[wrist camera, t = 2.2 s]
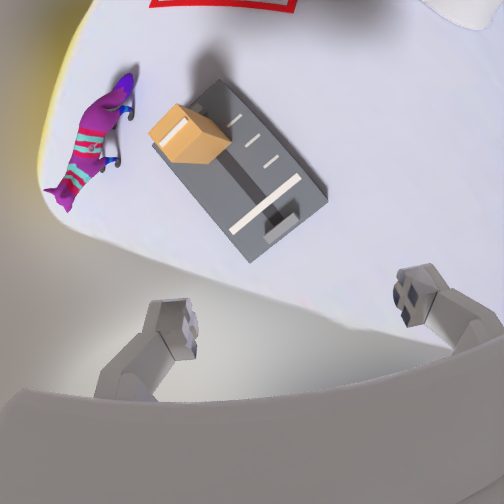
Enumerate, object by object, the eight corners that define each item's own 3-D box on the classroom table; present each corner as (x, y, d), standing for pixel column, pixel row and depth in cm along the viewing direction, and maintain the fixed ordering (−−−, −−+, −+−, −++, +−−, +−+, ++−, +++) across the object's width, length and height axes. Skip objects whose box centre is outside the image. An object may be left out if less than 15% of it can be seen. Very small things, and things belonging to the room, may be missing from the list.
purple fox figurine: (93, 200, 37) (40, 212, 27) (127, 75, 32) (77, 56, 22) (112, 208, 37) (59, 222, 27) (149, 78, 31) (100, 55, 21)
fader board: (157, 146, 33) (145, 144, 30) (223, 82, 30) (215, 75, 27) (252, 259, 35) (246, 267, 32) (327, 200, 31) (329, 203, 28)
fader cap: (188, 141, 31) (146, 133, 22) (211, 120, 30) (175, 102, 21) (208, 164, 31) (170, 162, 22) (232, 142, 30) (201, 131, 21)
